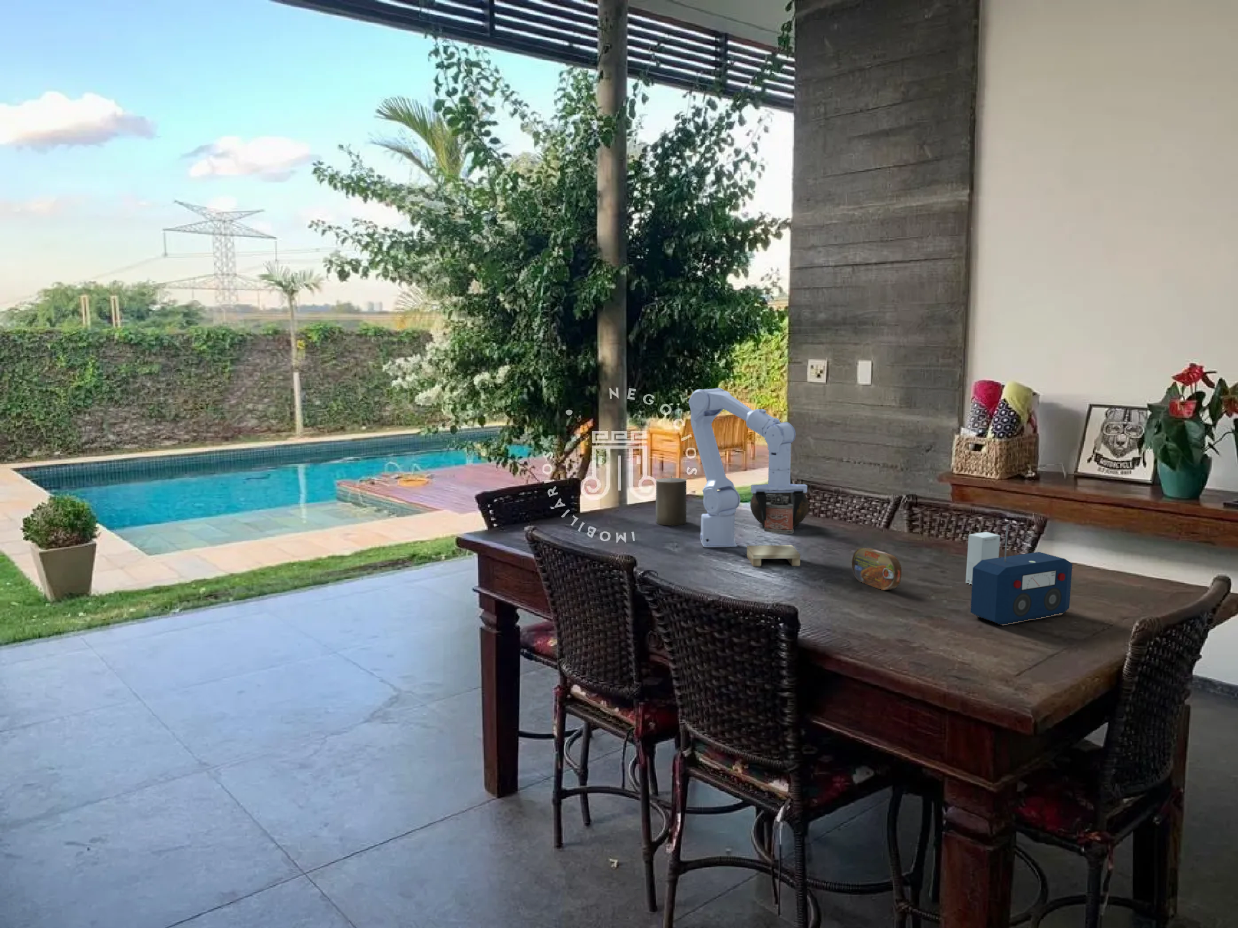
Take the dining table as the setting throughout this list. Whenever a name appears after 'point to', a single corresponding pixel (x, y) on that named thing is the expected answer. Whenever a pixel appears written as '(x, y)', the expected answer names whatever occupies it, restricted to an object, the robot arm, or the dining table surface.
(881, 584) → the tin
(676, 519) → the pillar candle
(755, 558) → the shelf stand
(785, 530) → the lighter
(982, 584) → the radio
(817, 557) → the dining table surface
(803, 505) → the dark brown vase
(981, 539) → the skincare box
